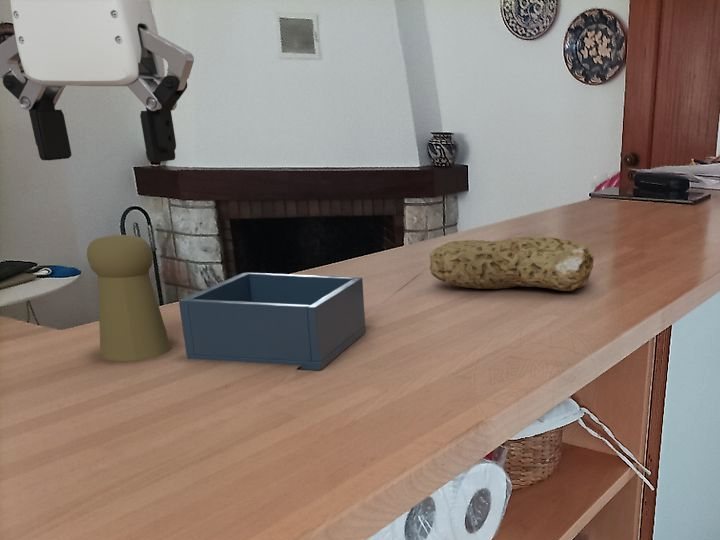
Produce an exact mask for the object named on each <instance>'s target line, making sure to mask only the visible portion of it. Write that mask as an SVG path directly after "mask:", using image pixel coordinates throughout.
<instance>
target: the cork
mask: <svg viewBox="0 0 720 540" xmlns="http://www.w3.org/2000/svg"><path fill="white" fill-rule="evenodd" d="M86 248H87V249H86V257H87V262H88V264H89V267H90V268H91V270H92V271H93V272H94V273H95V274H96V275H97V290H98V291H97V292H98V293H97V294H98V319H99V321H98V323H99V349H100V350H99V352H100V357H101V358H103V359H105V360H108V361H114V362H115V361H117V362H130V361H142V360H147V359H151V358H156V357H159V356H162V355H165V354H166V353H168V352H170V351H171V349H172V345H171V341H170V339H169V336H168V332H167V329H166V325H165V321H164V318H163V316H162V313H161V309H160V305H159V302H158V299H157V295H156V293H155V289H154V286H153V283H152V279H151V276H150V273H149V272H150V270H151V268H152V266H153V263H154V262H153V261H154V255H153V250H152V248H151V245H150V244H149V243H148V241H147V240H146V239H144V238H142V237H141V236H135V235H130V234H111V235H105V236H101V237H98V238H94V239H93V240H92V241H91V242H89V244H88V246H87V247H86Z"/></svg>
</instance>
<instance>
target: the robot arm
mask: <svg viewBox="0 0 720 540" xmlns="http://www.w3.org/2000/svg"><path fill="white" fill-rule="evenodd" d="M9 2H10V10H11V17H12V25H13V31H14V33H13V34H12V35H11V36H10V37H8V38H6V39H5V40H4V41H2V42H1V43H0V78H1V79H2V84H3V86H4V88H5V89H6V90H7V91H8V92H9V93H10V94H11V95H12V96H14V97H15V98H16V99H17V100H18V104H19V107H21V108H22V109H23V110H25V111H28V114H29V117H30V123H31V127H32V132H33V136H34V137H33V138H34V141H35V145H36V146H37V151H38V152H37V153H38V157H39V159H40V160H41V161H57V160H58V161H59V160H67V159H69V158H71V157H72V148H71V144H70V139H69V134H68V129H67V125H66V120H65V115H64V112H63V110H62V109H56V107H55V106H56V105H57V103H58V101H59V99H60V97H61V95H62V94H63V91H64V90H65V88H66V86H76V87H127V88H128V89H129V90H130V91H131V92H132V93H133V94H134V96H136V98H137V99H138V100H139V101H140V102H141V103H142V104H143V105H144V107H145V110H140V114H139V119H140V123H141V129H142V135H143V142H144V147H145V154H146V159H147V160H148V161H149V162H150V163H160V162H161V163H162V162H168V161H174V160H175V159H176V151H175V150H176V149H177V140H176V134H175V127H174V122H173V114H172V111H174V110H176V109H177V106H178V101H179V100H180V98H181V97H182V96H183V94H184V93H185V91H186V90H187V88H188V79H189V78H190V74H191V72H192V68H193V65H194V61H195V57H194V55H193V54H192V52H190V51H189V50H186V49H184V48H183V47H181V46H179V45H178V44H176V43H174V42H172V41H170V40H169V39H166V38H164V37H163V36H161V35H160V34H159V32H158V31H159V30H158V26H157V23H156V19H155V14H154V11H153V7H152V3H151V0H10V1H9ZM19 61H20V63H21V66H22V69H23V71H24V74H25V75H24V74H23V73H22V70H21V68H20V66H19ZM164 61H166V62H167V70H165V69H166V68H165V62H164ZM166 71H167V73H166Z"/></svg>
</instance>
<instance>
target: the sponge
mask: <svg viewBox="0 0 720 540" xmlns="http://www.w3.org/2000/svg"><path fill="white" fill-rule="evenodd" d="M594 258H595V254H594V252H593V251H592V250H591V251H590V249H589V246H588V245H586V244H584V243H578V242H575V241H573V240H568V239H561V238H559V237H558V238H557V237H544V236H543V237H541V236H540V237H539V236H521V237H509V238H504V239H501V240H493V241H491V240H483V239H482V240H479V239H478V240H475V239H469V240H467V239H464V240H453V241H448V242H447V243H444V244H442V245H440V247H439V246H437V247H436V248H434V249H433V250H432V251H431V252H430V253H429V260H430V265H429V270H430V274H431V276H432V277H434V278H436V279H437V280H439V281H442V282H444V283H446V284H449V285H453V286H457V287H461V288H462V287H463V288H469V289H478V290H479V289H480V290H482V289H483V290H491V289H492V290H498V289H499V290H500V289H510V288H515V287H533V288H544V289H552V290H555V291H562V292H573V291H574V290H576V289H580V288H584V287H585V286H586V284H587V283H588V282H589V279H590V276H591V274H592V270H593V268H594Z"/></svg>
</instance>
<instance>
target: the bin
mask: <svg viewBox="0 0 720 540" xmlns="http://www.w3.org/2000/svg"><path fill="white" fill-rule="evenodd" d="M364 299H365V298H364V283H363V277H353V276H336V275H335V276H332V275H312V274H311V275H309V274H293V273H292V274H288V273H271V272H270V273H267V272H247V271H246V272H242V273H239V274H237V275H235V276H233V277H231V278H228V279H226V280H223V281H221V282H219V283H216V284H214V285H212V286H209V287H207V288H205V289H202V290H201V291H200V290H199V291H198V292H195V293H193V294H191V295H189V296H186V297H184V298H181V299H179V300H178V305H179V306H178V307H179V312H180V320H181V325H182V335H183V340H184V347H185V354H186V358H187V359H188V360H203V361H218V362H219V361H220V362H237V363H251V364H252V363H254V364H255V363H256V364H272V365H287V366H289V365H290V366H298V367H297V368H296V370H305V371H306V370H307V371H322V370H323V369H324V368H325V367H326V366H327V365H329V364H330V363H332V362H333V360H335V359H337V357H338V356H340V355H341V354H342V353H343V352H344V351H345V350H347V349H348V348H349V347H350V346H352V344H354V343H355V342H356V341H357V340H358V339H360V338H361V337H362V336H363V335H364V334H365V333H366V317H365V316H366V315H365V300H364Z"/></svg>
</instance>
